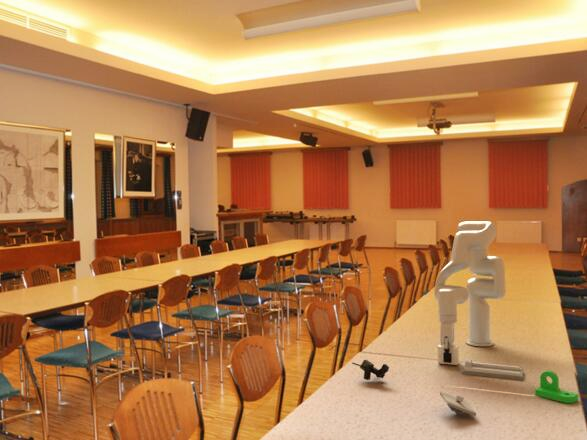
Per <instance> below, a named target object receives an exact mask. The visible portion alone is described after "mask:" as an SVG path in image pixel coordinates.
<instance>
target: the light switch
mask: <svg viewBox="0 0 587 440" xmlns="http://www.w3.org/2000/svg"><path fill="white" fill-rule="evenodd" d="M439 396H440V397H441V398H442V399H443V401H444V402H445V403H446V405H447V407H448V408H449V409H450V410H451V411H452V412H454V413H455V414H457V415H462V414H463V413H466V414H469V415H472V416H474V417H476V416H477V412H476V411H475V410H474V408H472V406H471V404H469V403H468V401H466V400H464V399H465V397H464V396H462V395H461V394H456V396H453V395H450V394H447V393H445V392H442V391H440V392H439Z"/></svg>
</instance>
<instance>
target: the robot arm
mask: <svg viewBox="0 0 587 440" xmlns="http://www.w3.org/2000/svg"><path fill="white" fill-rule="evenodd" d="M457 230H458V231H457V232H456V233H455V235H454V239H453V243H452V250H451V254H450V259H449V262H447V264H446V265H445V266H444V267H443V268H441V270H440V271H439V273H438V275H437V276H436V279H435V284H434V288H433V289H434V290H433V295H434V298H435V300H436V301H437V305H438V312H437V313H438V314H437V315H438V316H437V317H438V322H439V323H440V328H439V329H440V330H439V331H440V333H439V334H440V335H439V336H440V337H439V344H440V345H441V346H442V345H443V344H444V353H443V358H444V362H446V363H451V362H452V356H451V346H452V345H454V342H455V323H458V311H457V310H458V308H457V307H458V306H457V305H463V304H465V303H466V302H467V301H468V338H466V339H465V343H466V345H469V346H472V347H473V346H474V347H492V346H493V345H494V341H493V340H491V317H490V316H491V312H490V311H491V309H490V305H489V303H488V301H487V300H488V299H489V300H502V299H504V298H505V295H506V270H505V268H506V267H505V262H504V260H503V258H502V257H500V256H498V255H497V256H495V255H488V249H487V248H488V247H489V246H491V244H492V243H493V241H494V240H495V239H496V236H497V233H498V229H497V225H496V224H495V223H494V222H493V221H479V220H478V221H477V220H476V221H473V220H472V221H471V220H470V221H462V222H460V223H458V225H457ZM468 268H469V269H468ZM466 269H468V270H469V272H470V274H471V275H474V276H479V277H472V278H469V279H468V280H467V282H466V286H462V285H461V286H460V285H451V284H446V282H447V280H448V278H450V276H452V275H453V274H456V273H458V272H459V273H460V272H461V271H464V270H466ZM480 276H483V277H480ZM487 277H488V278H487ZM489 277H492V278H489ZM486 299H487V300H486ZM448 344H449V345H450V346H448ZM448 347H449V348H448Z"/></svg>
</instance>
